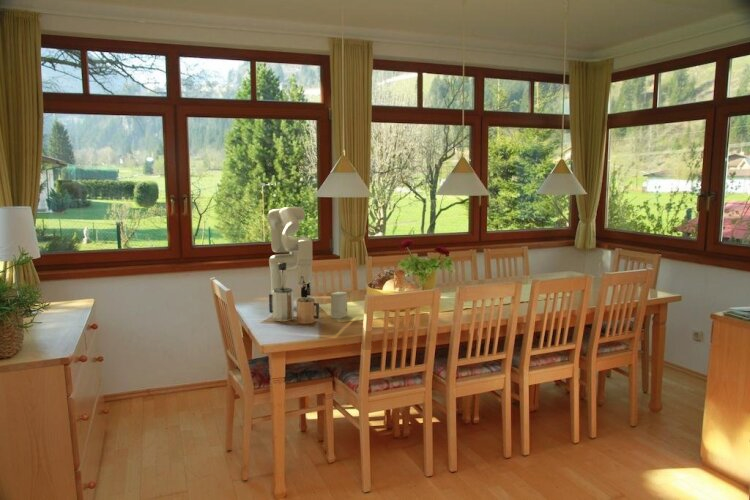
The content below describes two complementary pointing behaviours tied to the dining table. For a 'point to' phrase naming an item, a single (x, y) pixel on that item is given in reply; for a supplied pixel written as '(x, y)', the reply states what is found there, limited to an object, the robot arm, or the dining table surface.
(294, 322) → the walnut board
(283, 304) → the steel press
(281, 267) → the steel plunger
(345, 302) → the skincare box
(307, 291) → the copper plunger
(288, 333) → the dining table surface
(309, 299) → the copper press
